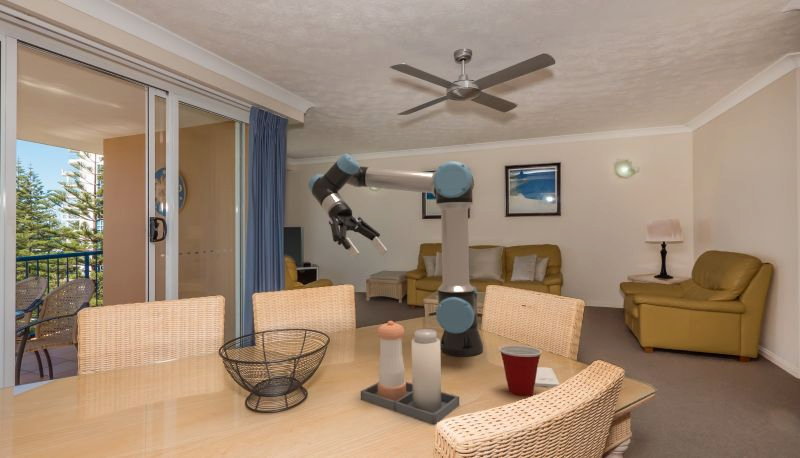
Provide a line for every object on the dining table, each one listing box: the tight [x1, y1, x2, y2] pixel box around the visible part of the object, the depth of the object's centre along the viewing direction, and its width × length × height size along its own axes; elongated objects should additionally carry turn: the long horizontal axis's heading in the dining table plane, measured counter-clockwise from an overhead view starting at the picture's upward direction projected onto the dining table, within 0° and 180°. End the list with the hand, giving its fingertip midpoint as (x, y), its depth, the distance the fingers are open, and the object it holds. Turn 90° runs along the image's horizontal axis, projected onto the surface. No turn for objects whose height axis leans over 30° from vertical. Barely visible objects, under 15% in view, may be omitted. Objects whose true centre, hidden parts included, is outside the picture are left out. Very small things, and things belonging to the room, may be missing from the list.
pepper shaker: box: [376, 320, 407, 401], centre depth 97 cm, size 7×7×19 cm
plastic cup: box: [498, 344, 543, 397], centre depth 99 cm, size 11×11×12 cm
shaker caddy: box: [360, 381, 460, 426], centre depth 93 cm, size 11×22×3 cm, turn 53°
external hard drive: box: [534, 366, 561, 388], centre depth 109 cm, size 2×8×12 cm
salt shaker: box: [411, 328, 442, 414], centre depth 90 cm, size 7×7×18 cm
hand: (371, 254), depth 122 cm, fingers open, 13 cm apart
